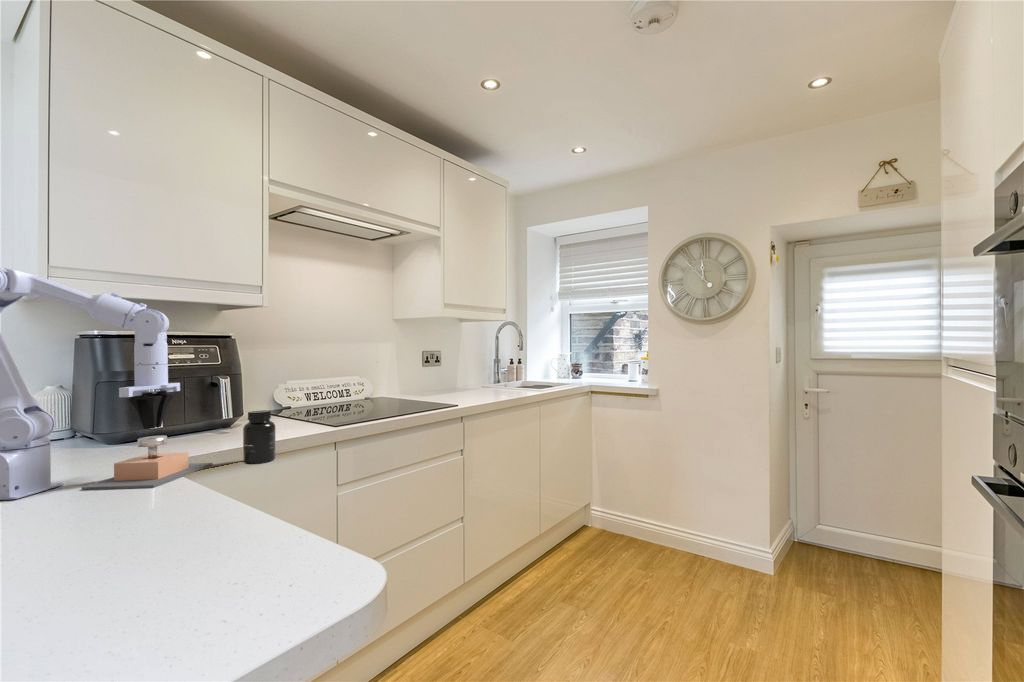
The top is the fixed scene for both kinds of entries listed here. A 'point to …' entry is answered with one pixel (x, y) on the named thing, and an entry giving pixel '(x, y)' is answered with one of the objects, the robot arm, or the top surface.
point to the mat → (145, 483)
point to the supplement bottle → (259, 438)
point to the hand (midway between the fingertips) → (152, 427)
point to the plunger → (152, 444)
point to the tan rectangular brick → (150, 466)
